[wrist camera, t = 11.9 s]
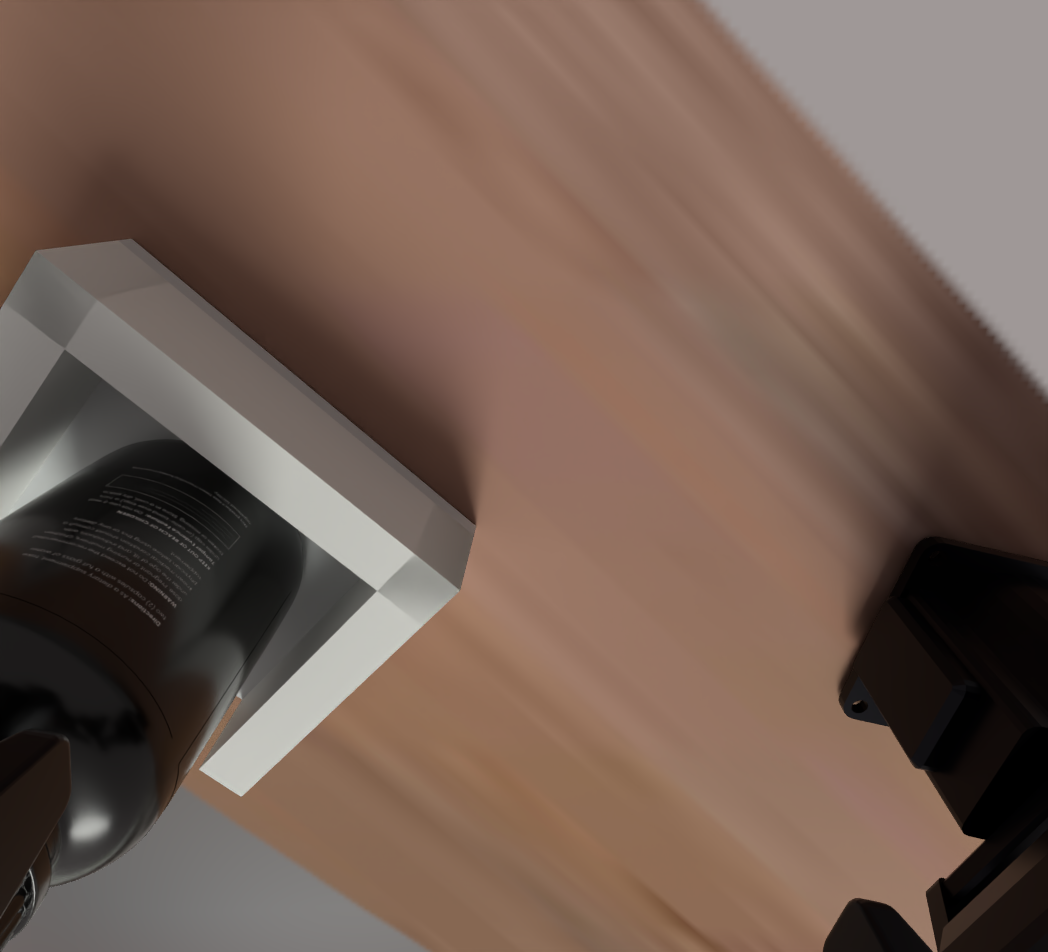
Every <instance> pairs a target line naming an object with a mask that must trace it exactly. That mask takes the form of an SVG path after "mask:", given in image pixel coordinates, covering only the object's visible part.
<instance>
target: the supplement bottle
mask: <svg viewBox="0 0 1048 952" xmlns="http://www.w3.org/2000/svg"><path fill="white" fill-rule="evenodd" d="M303 563H304V556H303V547H302V542H301V537H300V534H299V531H298V529H296V528H295V527H294V526H293V525H291V524H290V523H289V522H287V521H286V520H285V519H284V518H282V517H281V516H280V515H278V514H277V513H276V512H274V511H273V510H272V509H271V508H269V507H268V506H267V505H265V504H264V503H263V502H262V501H260V500H259V499H258V498H256V497H255V496H254V495H252V494H251V493H250V492H249V491H247V490H246V489H245V488H243V487H242V486H241V485H240V484H238V483H237V482H236V481H234V480H233V479H232V478H231V477H229V476H228V475H227V474H225V473H224V472H223V471H221V470H220V469H219V468H218V467H216V466H215V465H214V464H212V463H211V462H210V461H209V460H207V459H206V458H205V457H203V456H202V455H201V454H199V453H198V452H197V451H196V450H194V449H193V448H192V447H190V446H189V445H188V444H187V443H185V442H184V441H183V440H175V439H157V440H148V441H142V442H137V443H133V444H130V445H127V446H124V447H122V448H120V449H117V450H115V451H113V452H111V453H109V454H107V455H105V456H104V457H102V458H100V459H99V460H97V461H95V462H94V463H92V464H90V465H88V466H87V467H85V468H83V469H82V470H80V471H78V472H77V473H75V474H74V475H72V476H70V477H69V478H67V479H66V480H64V481H62V482H61V483H59V484H58V485H56V486H54V487H53V488H51V489H50V490H48V491H46V492H45V493H43V494H42V495H40V496H38V497H37V498H35V499H33V500H32V501H30V502H29V503H27V504H25V505H24V506H22V507H21V508H19V509H17V510H16V511H14V512H13V513H11V514H9V515H8V516H6V517H5V518H3V519H1V520H0V741H2V740H4V739H6V738H8V737H10V736H12V735H14V734H16V733H18V732H20V731H23V730H26V729H40V730H45V731H50V732H54V733H59V734H63V735H65V736H66V737H67V739H68V740H69V744H70V761H71V785H72V786H71V794H70V798H69V801H68V803H67V806H66V808H65V810H64V812H63V814H62V815H61V817H60V819H59V820H58V822H57V824H56V826H55V827H54V829H53V831H52V832H51V834H50V836H49V837H48V839H47V841H46V842H45V844H44V846H43V847H42V849H41V851H40V852H39V854H38V856H37V858H36V859H35V861H34V863H33V864H32V866H31V868H30V869H29V871H28V873H27V874H26V876H25V878H24V879H23V881H22V883H21V884H20V886H19V888H18V889H17V891H16V893H15V895H14V896H13V898H12V900H11V901H10V903H9V905H8V906H7V908H6V910H5V911H4V913H3V915H2V916H1V918H0V952H1V951H2V950H3V948H4V947H5V946H6V944H7V943H8V941H9V940H11V939H12V938H14V937H15V936H16V935H17V934H18V933H20V931H22V930H23V928H24V927H25V926H26V925H27V924H28V922H29V921H30V919H31V918H32V916H33V915H34V913H35V912H36V911H37V909H38V908H39V906H40V905H41V903H42V901H43V900H44V898H45V896H46V894H47V892H48V890H49V888H50V887H55V886H60V885H63V884H66V883H69V882H73V881H76V880H79V879H81V878H83V877H86V876H88V875H90V874H92V873H95V872H96V871H99V870H100V869H102V868H104V867H106V866H108V865H109V864H111V863H113V862H114V861H116V860H117V859H119V858H120V857H122V856H123V855H124V854H126V853H127V852H128V851H130V850H131V849H132V848H133V847H134V846H136V845H137V843H138V842H140V841H141V840H142V839H143V838H144V837H145V836H146V835H147V833H148V832H149V831H150V829H151V828H152V827H153V825H154V824H155V823H156V821H157V820H158V819H159V817H160V816H161V814H162V812H163V811H164V810H165V808H166V807H167V806H168V804H169V802H170V801H171V799H172V797H173V796H174V794H175V793H176V791H177V790H178V788H179V787H180V785H181V783H182V782H183V780H184V779H185V777H186V775H187V774H188V772H189V770H190V769H191V767H192V766H193V764H194V762H195V761H196V759H197V758H198V756H199V754H200V753H201V751H202V750H203V748H204V746H205V745H206V743H207V742H208V740H209V738H210V737H211V735H212V734H213V732H214V730H215V729H216V727H217V726H218V724H219V722H220V721H221V719H222V718H223V716H224V714H225V713H226V711H227V710H228V708H229V706H230V705H231V703H232V702H233V700H234V698H235V697H236V695H237V694H238V692H239V690H240V689H241V687H242V685H243V684H244V682H245V681H246V679H247V677H248V676H249V674H250V673H251V671H252V669H253V668H254V666H255V665H256V663H257V661H258V660H259V658H260V657H261V655H262V653H263V652H264V650H265V649H266V647H267V645H268V644H269V642H270V641H271V639H272V637H273V636H274V634H275V633H276V631H277V629H278V628H279V626H280V624H281V623H282V621H283V619H284V617H285V616H286V614H287V612H288V611H289V609H290V607H291V605H292V604H293V602H294V600H295V598H296V595H297V593H298V590H299V588H300V584H301V580H302V574H303Z"/></svg>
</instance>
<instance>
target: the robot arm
mask: <svg viewBox="0 0 1048 952" xmlns="http://www.w3.org/2000/svg"><path fill="white" fill-rule="evenodd" d="M935 551H940V554H939V555H938V556H937V557H936V558H934V559H929V556H930V555H931V554H932V553H933V552H935ZM853 667H854V668H853V670H852V672H851V674H850V676H849V678H848V680H847V682H846V684H845V686H844V688H843V690H842V692H841V694H840V696H839V703H840V705H841V707H842V709H843V711H844V713H845V714H846V715H847V716H848V717H850V718H853V719H857V720H861V721H866V722H870V723H875V724H879V725H884V726H889V727H890V729H891V730H892V732H893V734H894V735H895V737H896V739H897V740H898V742H899V744H900V745H901V747H902V748H903V750H904V752H905V753H906V755H907V757H908V758H909V760H910V762H911V763H912V765H913V766H914V767H915V768H917V769H921V770H925V772H926V774H927V775H928V777H929V779H930V780H931V782H932V783H933V785H934V787H935V788H936V790H937V791H938V793H939V795H940V796H941V798H942V799H943V801H944V803H945V804H946V806H947V808H948V809H949V811H950V812H951V814H952V816H953V817H954V819H955V820H956V822H957V824H958V825H959V827H960V828H961V830H962V832H963V833H964V834H966V835H968V836H971V837H975V838H980V839H985V841H984V842H983V843H982V844H981V845H980V846H979V847H978V848H977V849H976V850H975V851H974V852H973V853H972V854H971V855H970V856H969V857H967V858H966V859H965V860H964V861H963V862H962V863H961V864H960V865H959V866H958V867H957V868H956V869H955V870H954V871H953V872H952V873H951V874H950V875H949V876H948V877H947V878H946V879H944V878H940V879H938V880H937V881H936V882H935V883H934V884H933V885H932V886H931V887H930V888H929V889H928V890H927V891H926V897H927V902H928V907H929V912H930V917H931V922H932V926H933V931H934V936H935V941H936V946H937V950H938V952H1048V562H1045V561H1041V560H1037V559H1032V558H1028V557H1024V556H1019V555H1015V554H1011V553H1006V552H1002V551H998V550H993V549H989V548H985V547H980V546H976V545H972V544H967V543H963V542H959V541H954V540H950V539H946V538H941V537H929V538H925V539H923V540H922V541H920V542H919V543H918V544H917V546H916V547H915V548H914V550H913V552H912V554H911V556H910V558H909V560H908V562H907V564H906V566H905V568H904V570H903V572H902V574H901V576H900V578H899V580H898V582H897V584H896V586H895V588H894V590H893V592H892V594H891V595H890V597H889V599H888V600H886V601H885V602H884V604H883V606H882V608H881V610H880V612H879V614H878V616H877V618H876V620H875V622H874V624H873V626H872V628H871V630H870V632H869V634H868V636H867V638H866V640H865V642H864V644H863V646H862V648H861V649H860V651H859V653H858V655H857V657H856V659H855V661H854V664H853ZM858 700H862V701H861V702H860V703H858V704H853V703H854V702H856V701H858ZM71 786H72V785H71V761H70V744H69V740H68V739H67V737H66V736H65V735H63V734H59V733H54V732H50V731H45V730H40V729H26V730H23V731H20V732H18V733H16V734H14V735H12V736H10V737H8V738H6V739H4V740H2V741H0V918H1V916H2V915H3V913H4V911H5V910H6V908H7V906H8V905H9V903H10V901H11V900H12V898H13V896H14V895H15V893H16V891H17V889H18V888H19V886H20V884H21V883H22V881H23V879H24V878H25V876H26V874H27V873H28V871H29V869H30V868H31V866H32V864H33V863H34V861H35V859H36V858H37V856H38V854H39V852H40V851H41V849H42V847H43V846H44V844H45V842H46V841H47V839H48V837H49V836H50V834H51V832H52V831H53V829H54V827H55V826H56V824H57V822H58V820H59V819H60V817H61V815H62V814H63V812H64V810H65V808H66V806H67V803H68V801H69V798H70V794H71ZM823 952H933V951H932V950H931V949H930V948H929V947H928V946H927V945H926V943H925V942H924V941H923V940H922V939H921V938H920V937H919V936H918V935H917V933H916V932H915V931H914V930H913V929H912V928H911V927H910V926H909V925H908V923H907V922H906V921H905V920H904V919H903V918H902V917H901V916H900V915H899V913H898V912H897V911H895V910H894V909H893V908H892V907H891V906H889V905H887V904H884V903H881V902H876V901H871V900H866V899H861V898H855V899H853V900H851V901H849V902H848V904H847V905H846V907H845V908H844V910H843V912H842V913H841V915H840V917H839V918H838V920H837V922H836V923H835V925H834V927H833V928H832V930H831V932H830V933H829V935H828V937H827V938H826V941H825V944H824V947H823Z"/></svg>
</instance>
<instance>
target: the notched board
mask: <svg viewBox="0 0 1048 952" xmlns="http://www.w3.org/2000/svg"><path fill="white" fill-rule="evenodd" d="M157 439H175V440H183V441H184V442H185V443H187V444H188V445H189V446H190V447H192V448H193V449H194V450H196V451H197V452H198V453H199V454H201V455H202V456H203V457H205V458H206V459H207V460H209V461H210V462H211V463H212V464H214V465H215V466H216V467H218V468H219V469H220V470H221V471H223V472H224V473H225V474H227V475H228V476H229V477H231V478H232V479H233V480H234V481H236V482H237V483H238V484H240V485H241V486H242V487H243V488H245V489H246V490H247V491H249V492H250V493H251V494H252V495H254V496H255V497H256V498H258V499H259V500H260V501H262V502H263V503H264V504H265V505H267V506H268V507H269V508H271V509H272V510H273V511H274V512H276V513H277V514H278V515H280V516H281V517H282V518H284V519H285V520H286V521H287V522H289V523H290V524H291V525H293V526H294V527H295V528H296V529H298V531H299V534H300V537H301V542H302V547H303V556H304V563H303V574H302V580H301V584H300V588H299V590H298V593H297V595H296V598H295V600H294V602H293V604H292V605H291V607H290V609H289V611H288V612H287V614H286V616H285V617H284V619H283V621H282V623H281V624H280V626H279V628H278V629H277V631H276V633H275V634H274V636H273V637H272V639H271V641H270V642H269V644H268V645H267V647H266V649H265V650H264V652H263V653H262V655H261V657H260V658H259V660H258V661H257V663H256V665H255V666H254V668H253V669H252V671H251V673H250V674H249V676H248V677H247V679H246V681H245V682H244V684H243V685H242V687H241V689H240V690H239V692H238V694H237V695H236V696H238V697H239V698H241V699H242V701H241V702H240V704H239V706H238V707H237V709H236V710H235V712H234V714H233V715H232V717H231V719H230V720H229V722H228V723H227V725H226V727H225V728H224V730H223V731H222V733H221V735H220V736H219V738H218V739H217V741H216V743H215V744H214V746H213V748H212V749H211V751H210V752H209V754H208V756H207V757H206V759H205V760H204V762H203V764H202V765H201V767H200V768H199V770H201V771H202V772H204V773H205V774H207V775H208V776H210V777H211V778H213V779H215V780H216V781H218V782H219V783H221V784H222V785H224V786H225V787H227V788H228V789H230V790H231V791H233V792H235V793H236V794H238V795H239V796H241V797H242V796H243V795H244V794H245V793H246V792H247V791H248V790H249V789H250V788H251V787H252V786H253V785H254V784H255V783H257V782H258V781H259V780H260V779H261V778H262V777H263V776H264V775H265V774H266V773H267V772H268V771H269V770H270V769H271V768H272V767H274V766H275V765H276V764H277V763H278V762H279V761H280V760H281V759H282V758H283V757H284V756H285V755H286V754H287V753H288V752H289V751H290V750H292V749H293V748H294V747H295V746H296V745H297V744H298V743H299V742H300V741H301V740H302V739H303V738H304V737H305V736H306V735H307V734H308V733H310V732H311V731H312V730H313V729H314V728H315V727H316V726H317V725H318V724H319V723H320V722H321V721H322V720H323V719H324V718H325V717H326V716H328V715H329V714H330V713H331V712H332V711H333V710H334V709H335V708H336V707H337V706H338V705H339V704H340V703H341V702H342V701H343V700H344V699H346V698H347V697H348V696H349V695H350V694H351V693H352V692H353V691H354V690H355V689H356V688H357V687H358V686H359V685H360V684H361V683H362V682H364V681H365V680H366V679H367V678H368V677H369V676H370V675H371V674H372V673H373V672H374V671H375V670H376V669H377V668H378V667H379V666H380V665H382V664H383V663H384V662H385V661H386V660H387V659H388V658H389V657H390V656H391V655H392V654H393V653H394V652H395V651H396V650H397V649H398V648H400V647H401V646H402V645H403V644H404V643H405V642H406V641H407V640H408V639H409V638H410V637H411V636H412V635H413V634H414V633H415V632H417V631H418V630H419V629H420V628H421V627H422V626H423V625H424V624H425V623H426V622H427V621H428V620H429V619H430V618H431V617H432V616H433V615H435V614H436V613H437V612H438V611H439V610H440V609H441V608H442V607H443V606H444V605H445V604H446V603H447V602H448V601H449V600H450V599H451V598H453V597H454V596H455V595H456V594H457V593H458V592H459V591H460V589H461V585H462V581H463V577H464V573H465V569H466V565H467V561H468V557H469V553H470V549H471V545H472V541H473V537H474V533H475V529H476V526H475V525H474V524H473V523H472V522H471V521H469V520H468V519H467V518H466V517H465V516H463V515H462V514H461V513H460V512H459V511H457V510H456V509H455V508H454V507H453V506H451V505H450V504H449V503H448V502H447V501H445V500H444V499H443V498H442V497H441V496H439V495H438V494H437V493H436V492H435V491H433V490H432V489H431V488H430V487H429V486H427V485H426V484H425V483H424V482H423V481H421V480H420V479H419V478H418V477H417V476H415V475H414V474H413V473H412V472H411V471H409V470H408V469H407V468H406V467H405V466H403V465H402V464H401V463H400V462H399V461H397V460H396V459H395V458H394V457H393V456H391V455H390V454H389V453H388V452H387V451H385V450H384V449H383V448H382V447H381V446H379V445H378V444H377V443H376V442H375V441H373V440H372V439H371V438H370V437H369V436H367V435H366V434H365V433H364V432H363V431H361V430H360V429H359V428H358V427H357V426H356V425H354V424H353V423H352V422H351V421H350V420H348V419H347V418H346V417H345V416H344V415H342V414H341V413H340V412H339V411H338V410H336V409H335V408H334V407H333V406H332V405H330V404H329V403H328V402H327V401H326V400H324V399H323V398H322V397H321V396H320V395H318V394H317V393H316V392H315V391H314V390H312V389H311V388H310V387H309V386H308V385H306V384H305V383H304V382H303V381H302V380H300V379H299V378H298V377H297V376H296V375H294V374H293V373H292V372H291V371H290V370H288V369H287V368H286V367H285V366H284V365H282V364H281V363H280V362H279V361H278V360H276V359H275V358H274V357H273V356H272V355H270V354H269V353H268V352H267V351H266V350H264V349H263V348H262V347H261V346H260V345H258V344H257V343H256V342H255V341H254V340H252V339H251V338H250V337H249V336H248V335H246V334H245V333H244V332H243V331H242V330H240V329H239V328H238V327H237V326H236V325H234V324H233V323H232V322H231V321H230V320H229V319H227V318H226V317H225V316H224V315H223V314H221V313H220V312H219V311H218V310H217V309H215V308H214V307H213V306H212V305H211V304H209V303H208V302H207V301H206V300H205V299H203V298H202V297H201V296H200V295H199V294H197V293H196V292H195V291H194V290H193V289H191V288H190V287H189V286H188V285H187V284H185V283H184V282H183V281H182V280H181V279H179V278H178V277H177V276H176V275H175V274H173V273H172V272H171V271H170V270H169V269H167V268H166V267H165V266H164V265H163V264H161V263H160V262H159V261H158V260H157V259H155V258H154V257H153V256H152V255H151V254H149V253H148V252H147V251H146V250H145V249H143V248H142V247H141V246H140V245H139V244H137V243H136V242H135V241H134V240H133V239H124V240H116V241H108V242H100V243H92V244H84V245H76V246H68V247H60V248H51V249H43V250H36V251H35V253H34V254H33V256H32V258H31V259H30V261H29V263H28V264H27V266H26V268H25V269H24V271H23V272H22V274H21V276H20V277H19V279H18V281H17V282H16V284H15V286H14V287H13V289H12V291H11V292H10V294H9V296H8V297H7V299H6V301H5V302H4V304H3V306H2V307H1V309H0V520H1V519H3V518H5V517H6V516H8V515H9V514H11V513H13V512H14V511H16V510H17V509H19V508H21V507H22V506H24V505H25V504H27V503H29V502H30V501H32V500H33V499H35V498H37V497H38V496H40V495H42V494H43V493H45V492H46V491H48V490H50V489H51V488H53V487H54V486H56V485H58V484H59V483H61V482H62V481H64V480H66V479H67V478H69V477H70V476H72V475H74V474H75V473H77V472H78V471H80V470H82V469H83V468H85V467H87V466H88V465H90V464H92V463H94V462H95V461H97V460H99V459H100V458H102V457H104V456H105V455H107V454H109V453H111V452H113V451H115V450H117V449H120V448H122V447H124V446H127V445H130V444H133V443H137V442H142V441H148V440H157Z"/></svg>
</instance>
